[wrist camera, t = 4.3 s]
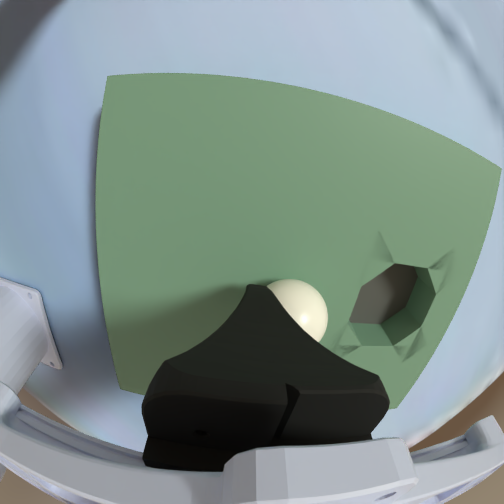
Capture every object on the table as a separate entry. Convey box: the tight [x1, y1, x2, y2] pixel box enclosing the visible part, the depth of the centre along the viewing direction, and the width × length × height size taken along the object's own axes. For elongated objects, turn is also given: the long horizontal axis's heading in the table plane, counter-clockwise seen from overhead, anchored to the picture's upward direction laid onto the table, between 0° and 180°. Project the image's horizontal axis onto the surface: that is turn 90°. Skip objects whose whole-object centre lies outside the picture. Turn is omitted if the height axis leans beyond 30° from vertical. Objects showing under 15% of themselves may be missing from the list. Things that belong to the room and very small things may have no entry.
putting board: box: [96, 73, 502, 409], centre depth 14 cm, size 20×18×2 cm
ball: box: [267, 279, 328, 342], centre depth 11 cm, size 3×3×3 cm
